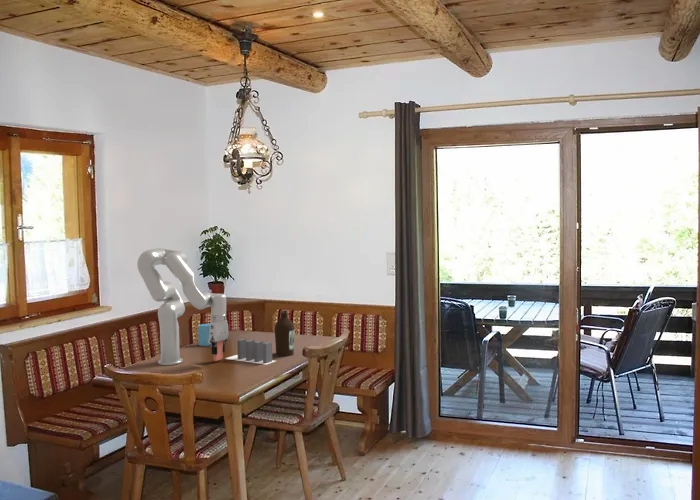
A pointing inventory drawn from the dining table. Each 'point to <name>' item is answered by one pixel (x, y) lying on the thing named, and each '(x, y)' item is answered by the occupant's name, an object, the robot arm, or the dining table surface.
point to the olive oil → (284, 336)
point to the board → (247, 361)
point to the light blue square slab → (203, 334)
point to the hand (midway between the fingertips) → (218, 352)
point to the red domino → (219, 351)
